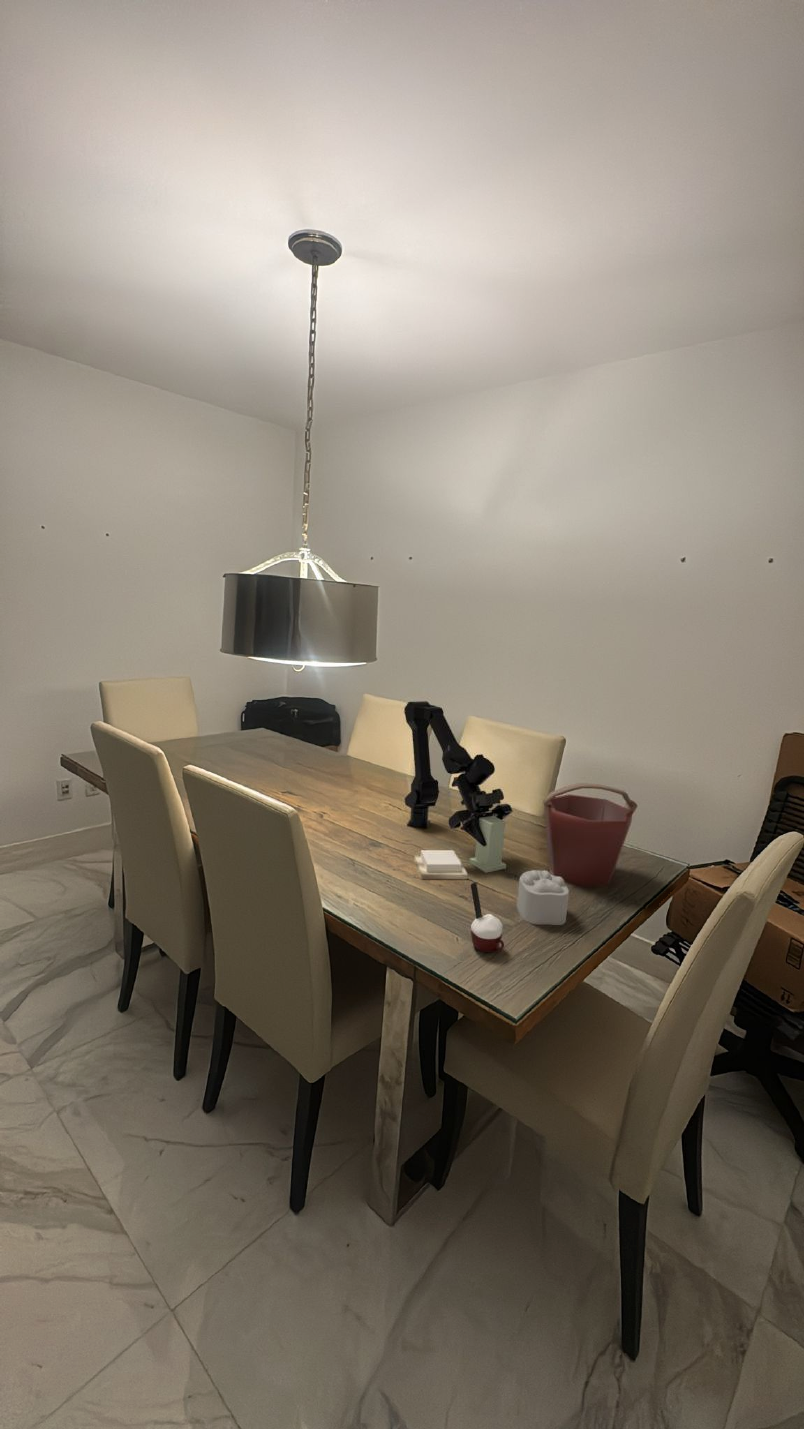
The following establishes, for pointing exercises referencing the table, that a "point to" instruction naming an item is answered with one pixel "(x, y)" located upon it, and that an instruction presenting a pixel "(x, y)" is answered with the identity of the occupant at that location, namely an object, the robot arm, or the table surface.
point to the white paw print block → (542, 898)
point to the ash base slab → (438, 875)
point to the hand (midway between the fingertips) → (493, 844)
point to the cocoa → (485, 927)
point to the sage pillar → (490, 845)
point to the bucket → (585, 834)
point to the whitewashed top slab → (440, 861)
